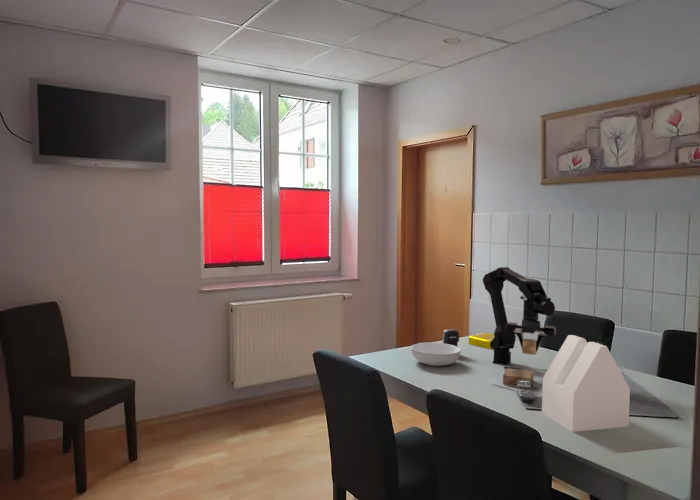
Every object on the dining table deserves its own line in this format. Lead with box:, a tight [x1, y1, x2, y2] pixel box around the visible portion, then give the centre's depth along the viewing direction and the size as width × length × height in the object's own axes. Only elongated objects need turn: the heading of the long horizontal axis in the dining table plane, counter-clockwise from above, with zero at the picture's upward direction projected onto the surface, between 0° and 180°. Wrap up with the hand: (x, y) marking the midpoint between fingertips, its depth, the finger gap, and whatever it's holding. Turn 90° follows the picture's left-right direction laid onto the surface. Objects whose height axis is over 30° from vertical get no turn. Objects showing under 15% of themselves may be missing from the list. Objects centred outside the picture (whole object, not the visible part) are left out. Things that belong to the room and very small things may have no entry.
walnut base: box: [502, 367, 535, 387], centre depth 199 cm, size 10×10×4 cm
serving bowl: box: [410, 342, 461, 367], centre depth 225 cm, size 21×21×7 cm
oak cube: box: [521, 337, 538, 356], centre depth 210 cm, size 5×5×5 cm
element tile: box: [467, 332, 494, 350], centre depth 260 cm, size 15×15×5 cm
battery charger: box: [442, 329, 460, 347], centre depth 239 cm, size 7×4×11 cm, turn 105°
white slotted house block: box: [541, 334, 631, 433], centre depth 162 cm, size 19×15×25 cm
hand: (529, 350), depth 210 cm, fingers closed on oak cube, 5 cm apart
